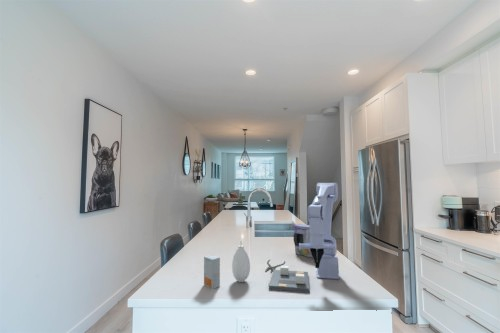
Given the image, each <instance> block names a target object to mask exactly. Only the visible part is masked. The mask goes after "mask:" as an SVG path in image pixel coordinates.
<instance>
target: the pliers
mask: <svg viewBox="0 0 500 333" xmlns="http://www.w3.org/2000/svg"><path fill="white" fill-rule="evenodd" d="M270 261H271V259H269V260H267V262H266V263H267V265H268V266H267V267H266V268H265V271H264V272H265V273H267V272H268V271H269V270H270V274H273V270H276V268H278V267H281V266H284V265H285V264H286V261H285V260H284V261H283V263H281V264H277V265H274V266H272V265H271V264H270Z"/></svg>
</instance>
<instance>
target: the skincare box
mask: <svg viewBox="0 0 500 333" xmlns="http://www.w3.org/2000/svg"><path fill="white" fill-rule="evenodd" d="M203 285H204V286H205V287H208V288H209V289H211V290H214V289H216V288H219V287H220V286H221V258H220V257H219V256H216V255H212V254H210V255H205V256H204V257H203Z"/></svg>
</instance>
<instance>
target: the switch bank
mask: <svg viewBox="0 0 500 333" xmlns="http://www.w3.org/2000/svg"><path fill="white" fill-rule="evenodd" d="M296 273H298V274H304V282H305V284H297V283H296ZM268 290H270V291H271V290H272V291H285V292H286V291H287V292H299V293H310V282H309V272H308V271H297V270H289V273H288V275H281V274H280V269H274V270H273V272H272V273H271V277H270V280H269V283H268Z"/></svg>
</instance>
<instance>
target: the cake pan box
mask: <svg viewBox="0 0 500 333" xmlns="http://www.w3.org/2000/svg"><path fill="white" fill-rule="evenodd" d="M299 243H310V227H309V224H301V223H297V224H293V244H294V252H295V254H296V255H300V256H305V257H308V258H312V259H313V256H312V254H311V251H310V249H299Z"/></svg>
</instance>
